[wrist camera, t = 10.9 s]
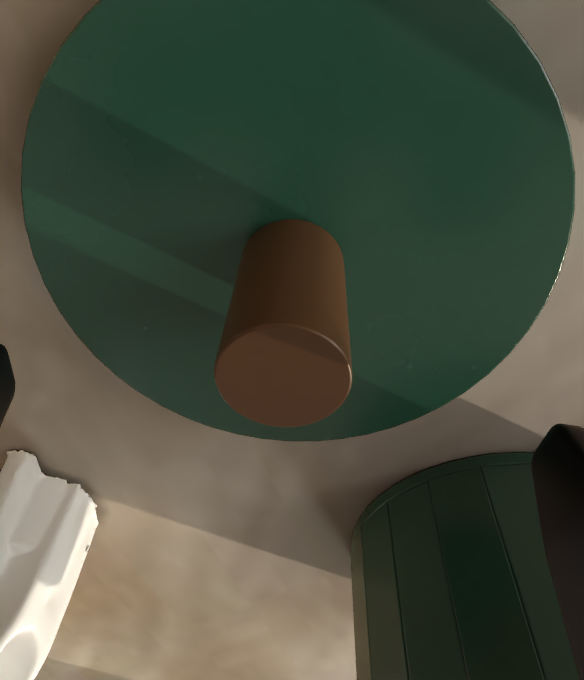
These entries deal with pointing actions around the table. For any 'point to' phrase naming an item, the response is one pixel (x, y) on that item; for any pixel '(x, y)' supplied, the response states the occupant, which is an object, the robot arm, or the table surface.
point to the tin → (457, 578)
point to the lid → (298, 204)
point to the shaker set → (37, 559)
